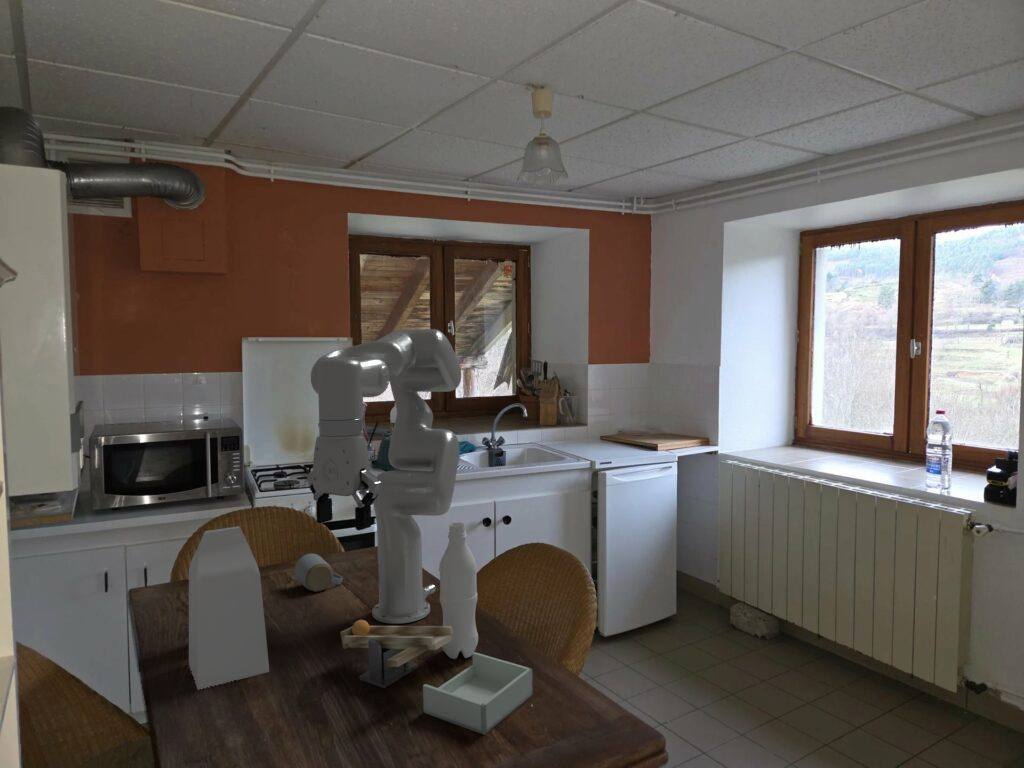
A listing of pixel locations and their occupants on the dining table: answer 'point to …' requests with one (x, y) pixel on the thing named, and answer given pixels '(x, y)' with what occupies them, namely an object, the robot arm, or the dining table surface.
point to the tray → (480, 694)
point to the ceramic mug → (315, 573)
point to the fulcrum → (384, 666)
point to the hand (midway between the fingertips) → (343, 525)
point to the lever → (401, 640)
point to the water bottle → (459, 593)
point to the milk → (225, 611)
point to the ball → (360, 628)
